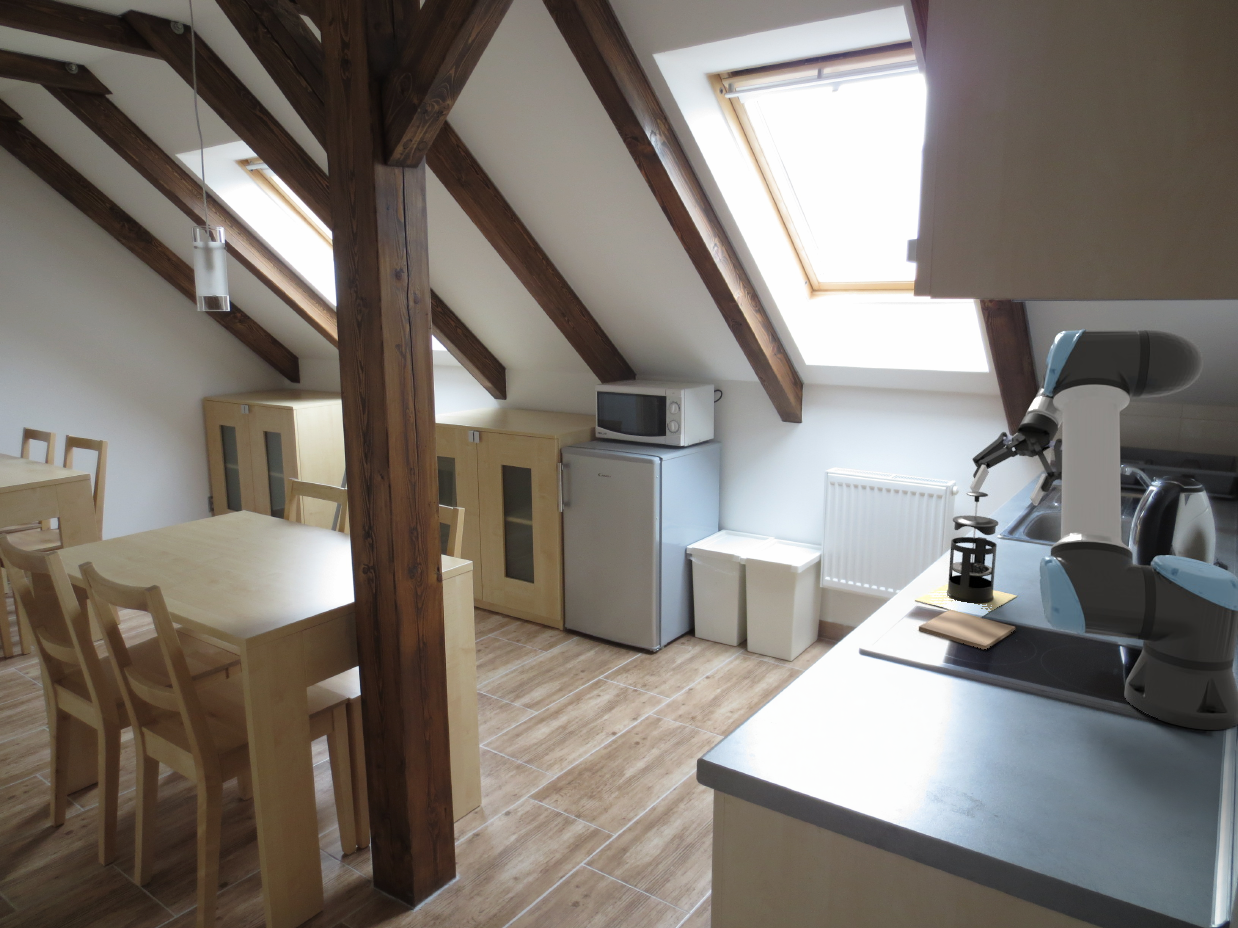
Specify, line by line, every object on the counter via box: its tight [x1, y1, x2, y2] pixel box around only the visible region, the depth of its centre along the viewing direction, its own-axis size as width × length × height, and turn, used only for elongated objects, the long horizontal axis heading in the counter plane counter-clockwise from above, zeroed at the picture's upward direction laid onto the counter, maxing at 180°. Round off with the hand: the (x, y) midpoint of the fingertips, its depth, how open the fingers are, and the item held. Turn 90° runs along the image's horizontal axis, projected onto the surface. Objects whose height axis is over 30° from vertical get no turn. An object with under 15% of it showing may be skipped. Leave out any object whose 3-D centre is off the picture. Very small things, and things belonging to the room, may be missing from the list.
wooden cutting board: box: [918, 609, 1016, 650], centre depth 160 cm, size 13×13×1 cm
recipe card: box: [914, 583, 1018, 613], centre depth 178 cm, size 18×14×1 cm
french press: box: [947, 491, 999, 604], centre depth 177 cm, size 12×9×23 cm
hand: (1002, 496), depth 181 cm, fingers open, 13 cm apart
